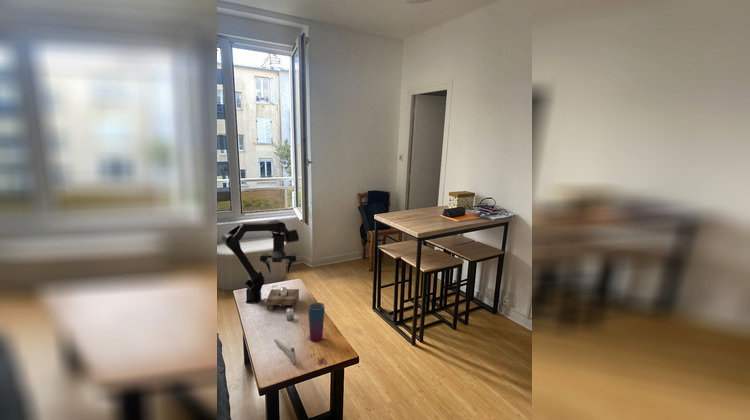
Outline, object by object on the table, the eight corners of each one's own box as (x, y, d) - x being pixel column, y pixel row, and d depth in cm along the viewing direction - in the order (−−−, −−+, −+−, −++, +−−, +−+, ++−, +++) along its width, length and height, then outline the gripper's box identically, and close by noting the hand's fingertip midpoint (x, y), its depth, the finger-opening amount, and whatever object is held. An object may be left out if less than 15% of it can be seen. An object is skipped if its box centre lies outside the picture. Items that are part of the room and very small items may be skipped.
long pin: (279, 306, 184) (279, 289, 183) (280, 304, 188) (280, 287, 186) (286, 306, 185) (286, 289, 183) (287, 303, 188) (287, 287, 186)
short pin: (286, 321, 170) (286, 311, 169) (287, 317, 174) (286, 307, 173) (293, 320, 171) (293, 310, 170) (293, 317, 174) (293, 307, 173)
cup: (306, 336, 158) (306, 303, 155) (322, 333, 160) (322, 301, 158) (310, 344, 151) (310, 310, 149) (326, 341, 154) (326, 308, 151)
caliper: (295, 365, 138) (295, 349, 137) (293, 365, 138) (293, 350, 136) (275, 340, 155) (275, 326, 153) (273, 341, 154) (273, 327, 153)
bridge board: (267, 310, 180) (266, 299, 179) (271, 300, 191) (271, 289, 190) (296, 310, 181) (296, 298, 180) (298, 300, 193) (298, 289, 192)
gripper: (257, 248, 186) (258, 278, 188) (295, 248, 187) (295, 278, 190) (261, 242, 196) (262, 270, 199) (297, 242, 198) (297, 270, 201)
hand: (279, 272), depth 197 cm, fingers open, 9 cm apart
